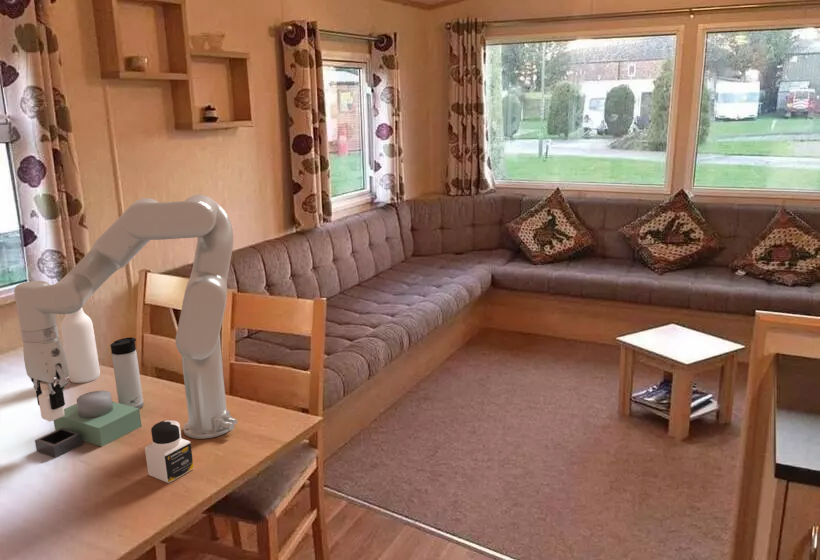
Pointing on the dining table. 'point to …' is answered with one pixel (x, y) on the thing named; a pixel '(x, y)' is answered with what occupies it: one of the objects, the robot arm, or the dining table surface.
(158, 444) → the medicine bottle
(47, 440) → the dark brown square tray
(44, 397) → the pepper shaker
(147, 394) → the dining table surface
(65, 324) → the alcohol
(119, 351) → the travel mug
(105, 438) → the green slab with dome
